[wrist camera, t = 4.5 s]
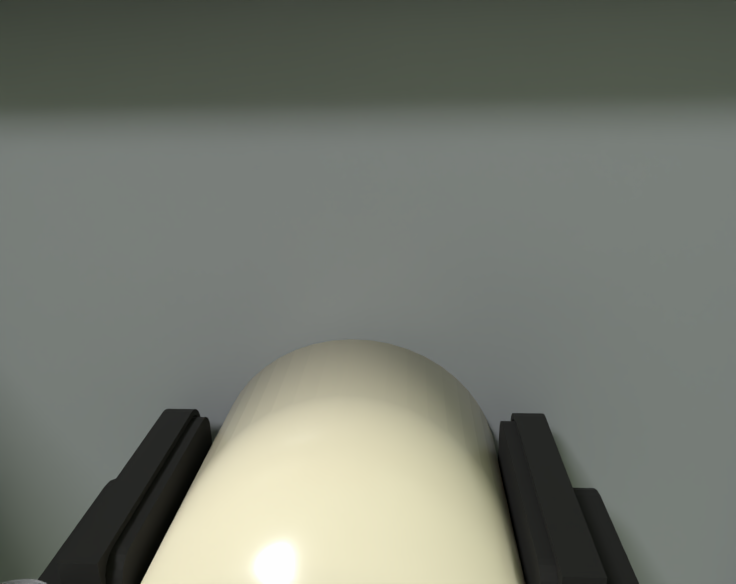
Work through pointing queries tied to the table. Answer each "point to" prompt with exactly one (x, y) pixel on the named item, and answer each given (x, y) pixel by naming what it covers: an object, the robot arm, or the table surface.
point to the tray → (374, 234)
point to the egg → (346, 480)
